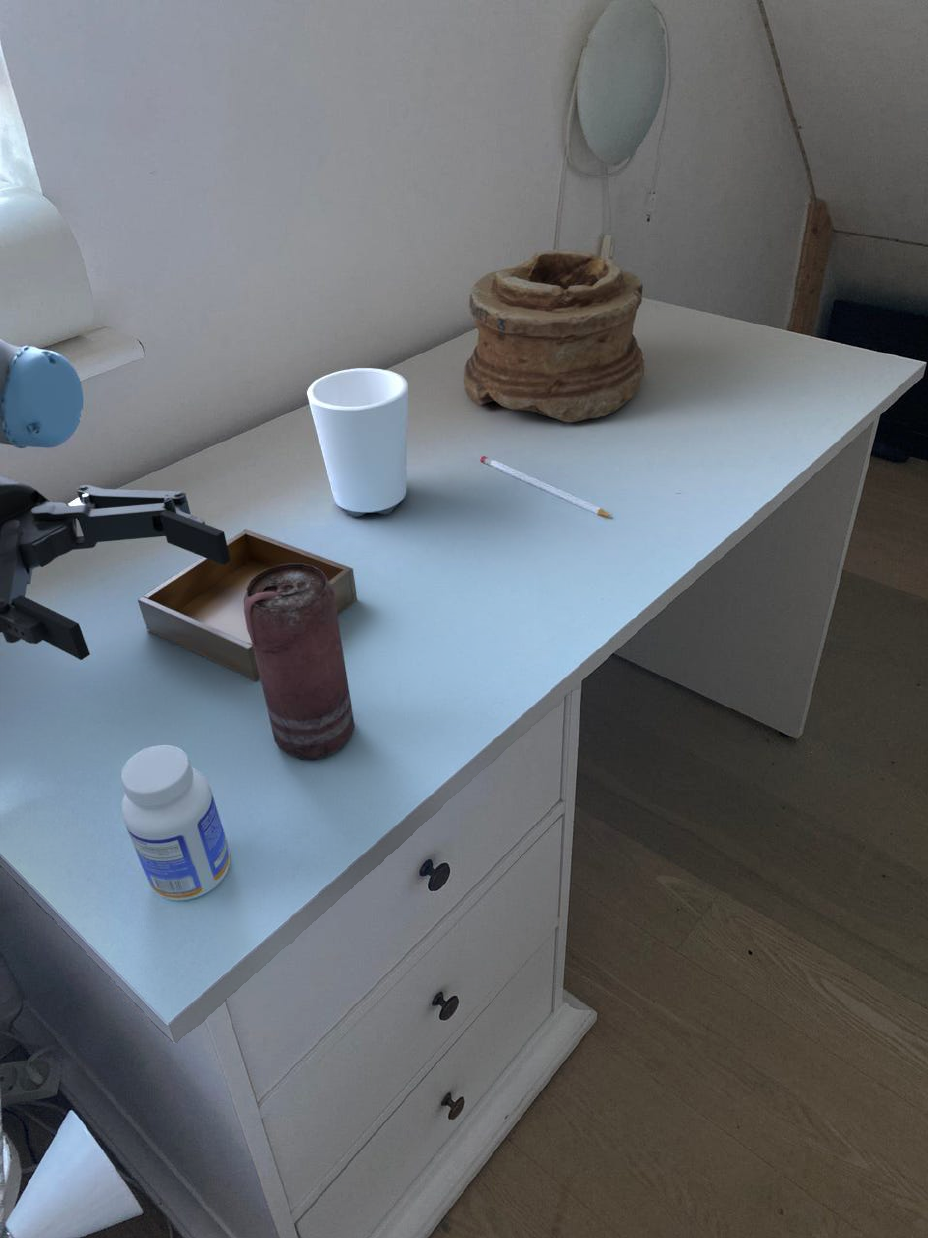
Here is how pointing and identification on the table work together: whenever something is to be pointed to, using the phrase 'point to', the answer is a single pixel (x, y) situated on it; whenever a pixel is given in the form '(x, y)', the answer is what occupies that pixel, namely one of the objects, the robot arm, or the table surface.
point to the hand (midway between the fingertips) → (157, 592)
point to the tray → (229, 599)
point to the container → (556, 336)
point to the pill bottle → (173, 823)
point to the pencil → (545, 487)
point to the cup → (363, 437)
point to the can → (300, 659)
